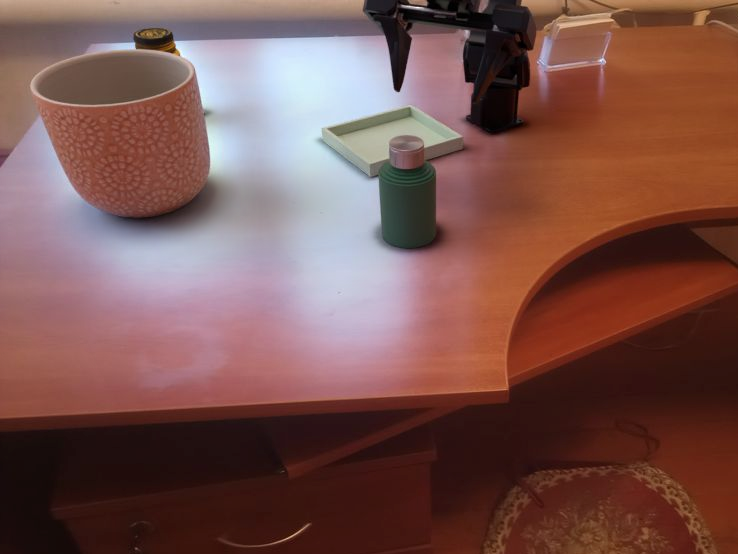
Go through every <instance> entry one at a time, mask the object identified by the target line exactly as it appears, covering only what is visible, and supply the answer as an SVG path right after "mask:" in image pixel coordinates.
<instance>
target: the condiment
mask: <svg viewBox="0 0 738 554" xmlns="http://www.w3.org/2000/svg"><path fill="white" fill-rule="evenodd" d="M132 39H133V42H134V49H143V50H156V51H163V52H168V53H172V54H176V55H178V56H181V53H180V51H179V49H178V48H177V45H176V43H175V38H174V34H173V32H172V31H171V30H170V29H168V28H165V27H146V28H143V29H139V30H137V31H135V32H134V33H133V37H132ZM203 112H204V114H206V111H205V110H203Z"/></svg>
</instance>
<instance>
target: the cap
mask: <svg viewBox="0 0 738 554" xmlns="http://www.w3.org/2000/svg"><path fill="white" fill-rule="evenodd" d="M389 159H390V164H391V165H392V166H394V167H396V168H399V169H415V168H418V167H420V166H422V165H423V163H424V162H425V161H426V160H425V157H424V141H423V140H422V139H421V138H419V137H416V136H412V135H401V136H397V137H394V138H392V139H391V140H390V141H389Z"/></svg>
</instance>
